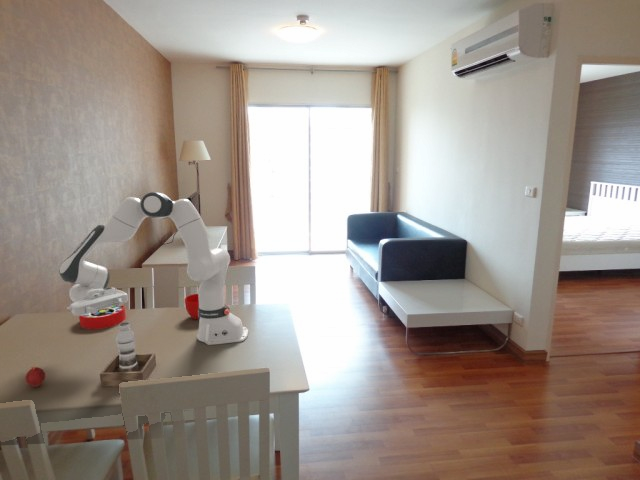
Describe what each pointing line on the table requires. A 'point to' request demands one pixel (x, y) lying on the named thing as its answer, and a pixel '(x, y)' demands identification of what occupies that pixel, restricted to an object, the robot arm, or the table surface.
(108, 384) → the box
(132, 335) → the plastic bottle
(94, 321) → the toy clock
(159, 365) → the table surface
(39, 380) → the red pomegranate
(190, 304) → the ceramic cup
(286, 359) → the table surface
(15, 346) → the table surface
